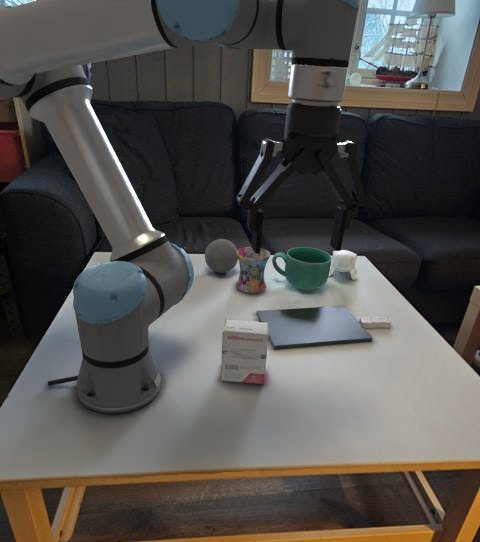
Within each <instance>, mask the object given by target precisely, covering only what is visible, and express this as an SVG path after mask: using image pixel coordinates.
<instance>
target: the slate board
mask: <svg viewBox="0 0 480 542" xmlns="http://www.w3.org/2000/svg"><path fill="white" fill-rule="evenodd" d="M255 312H256V313H255V315H256V318H257V319H258V320H259V321H258V322H264V323H268V325H269V334H268V341H269V342H270V344H271V346H272V349H273V350H283V349H285V350H286V349H295V348H296V349H297V348H306V347H320V346H332V345H344V344H357V343H367V342H368V343H369V342H373V339H374V337H372V335H371V334H370V333H369V332H368V331H367V330H366V328H363V326H362V325H361V324H360V323H359V321H358V320H357V318H356V317H355V316H354V315H353V314H352V313H351V312H350V310H349V309H348V308H347V307H346V306H345V305H329V306H315V307H297V308H282V309H266V310H256V311H255Z"/></svg>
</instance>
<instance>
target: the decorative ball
mask: <svg viewBox="0 0 480 542" xmlns="http://www.w3.org/2000/svg"><path fill="white" fill-rule="evenodd" d="M237 250H238V248H237V247H236V245H235V244H234V243H233V242H231V241H230V240H228V239H224V238H218V239H215V240H213V241H211V242H209V244H208V245H207V246H206V249H205V251H204V260H205V263H206V265H207V267H208V268H209V269H210V270H212V271H213V272H215V273H218V274H225V273H229V272H231V271H232V270H233V269H234V268H235V267H236V265H237V263H238V262H239V259H238V257H237V254H236V252H237Z"/></svg>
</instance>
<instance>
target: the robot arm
mask: <svg viewBox="0 0 480 542" xmlns="http://www.w3.org/2000/svg"><path fill="white" fill-rule="evenodd" d="M359 2H360V0H33V1H30V2H26V3H22V4H18V5H14V6H10V7H7V6H6V5H3V4H1V3H0V98H6V99H7V98H8V99H12V98H14V99H15V98H18V99H19V98H20V100H21V102H22V103H23V105H24V107H25V108H26V111H27V112H28V114H29V116H30V117H31V118H32V119H34V120H37V121H38V122H41V123H43V124H44V125H45V127H46V129H47V131H48V132H49V134H50V135H51V138H52V140H53V142H54V143H55V145H56V147H57V149H58V150H59V152H60V154H61V156H62V158H63V159H64V160H63V161H64V162H65V164H66V166H67V167H68V169H69V171H70V172H71V174H72V176H73V178H74V180H75V182H76V183H77V186H78V187H79V189H80V191H81V192H82V194H83V195H82V196H84V198H85V200H86V202H87V204H88V206H89V207H90V209H91V211H92V214H94V216H95V218H96V220H97V222H98V224H99V226H100V227H101V229H102V231H103V233H104V235H105V237H106V239H107V241H108V242H109V244H110V246H111V249H112V250H111V254H110V257H109V261H106V263H101V262H99V263H96V264H94V265H91V266H89V267H88V268H86V269H84V270H83V271H82V272H81V273H80V274H79V275H78V276H77V277H76V278H75V281H74V283H73V286H72V287H73V288H72V294H73V300H72V307H73V310H74V314H75V320H76V325H77V331H78V336H79V343H80V348H81V355H82V359H81V363H80V366H79V371H78V375H74V376H68V377H62V378H58V379H52V380H49V381H47V386H49V387H51V386H55V385H61V384H65V383H71V382H75V381H76V392H77V396H78V400H79V401H80V403H81V404H82V405H83V406H85V408H87V409H89V410H91V411H93V412H97V413H102V414H111V415H113V414H114V415H115V414H124V413H125V414H126V413H129V412H133V411H136V410H138V409H140V408H142V407H144V406H146V405H148V404H149V403H150V402H152V401H153V400H154V399H155V398H156V397H157V396H158V395H159V392H160V390H161V387H162V378H161V373H160V368H159V367H158V364H157V362H156V361H155V358H154V356H153V354H152V352H151V350H150V343H149V342H150V338H149V327H150V325H152V324H153V323H154V322H155V321H157V320H158V319H160V317H162V316H163V315H164V314H165V313H167V312H168V311H169V310H170V309H172V308H173V307H174V306H176V305H178V304H179V303H181V301H183V299H184V298H185V296H187V295H188V293H189V291H190V290H191V289H192V286H193V284H194V279H195V272H194V271H195V270H194V265H193V262H192V260H191V258H190V257H189V254H188V253H187V251H185V250H184V249H183V248H182V247H179V246H178V244H175V243H172V242H170V240H169V239H168V236H167V235H166V233H165V232H163V231H160V230H158V229H155V227H153V225H152V223H151V221H150V219H149V217H148V215H147V213H146V211H145V209H144V207H143V206H142V203H141V201H140V199H139V198H138V195H137V193H136V192H135V190H134V188H133V185H132V184H131V182H130V179H129V177H128V175H127V174H126V172H125V170H124V168H123V165H122V164H121V162H120V160H119V158H118V156H117V154H116V152H115V150H114V148H113V146H112V144H111V142H110V140H109V138H108V136H107V134H106V132H105V130H104V128H103V126H102V124H101V122H100V120H99V119H98V116H97V115H96V113H95V111H94V109H93V107H92V105H91V100H92V97H93V93H94V90H93V87H92V86H91V84H90V83H91V79H92V72H91V71H90V70H91V68H92V64H94V63H100V62H105V61H111V60H117V59H121V58H122V59H123V58H127V57H132V56H133V57H134V56H138V55H144V54H150V53H155V52H160V51H166V50H171V49H181V48H188V47H192V46H193V47H194V46H198V45H205V44H213V45H215V46H216V47H220V48H227V49H229V50H230V49H231V50H232V49H233V50H236V51H237V50H241V49H242V50H243V49H246V50H247V49H248V50H280V51H292V53H291V55H292V57H291V63H290V64H291V67H290V75H289V84H288V92H287V97H288V98H289V99H291V102H290V103H288V105H287V106H286V116H285V122H284V123H285V125H284V136H283V139H282V141H275V140H272V139H269V138H268V137H264V138H263V139H262V140H261V145H260V149H259V155H258V156H257V159H256V160H255V162H254V164H253V166H252V168H251V169H250V172H249V173H248V175H247V176H246V178H245V181H244V183H243V184H242V187H241V188H240V190H239V192H238V194H237V195H236V199H235V200H236V203H238V205H239V206H240V207H241V208H245V209H247V217H246V218H247V219H246V227H247V229H248V231H249V232H252V234H251V235H252V236H251V246H250V247H252V249H253V250H254V252H255V253H256V254H259V253H260V250H261V248H262V237H263V226H264V213H265V212H264V211H263V209H261V208H262V207H263V205H265V203H266V202H267V201H268V200H269V199H270V198H271V196H272V195H273V194H274V193H275V192H276V191H277V190H278V189H279V188H280V187H281V186H282V184H283V183H284V182H285V181H286V180H287V179H288V178H290V177H291V176H292V175H293V174H294V173H296V174H297V175H306V174H309V175H319V174H320V173H321V174H322V175H323V178H325V180H326V182H327V183H328V185H329V187H330V188H331V190H332V192H333V193H334V195H335V196H336V198H337V200H338V201H339V204H341V206H335V212H334V218H333V224H332V229H331V236H330V240H329V241H330V242H329V246H330V247H331V248H332V249H333V250H334V251H341V250H342V245H343V241H344V235H345V231H346V230H349V228H350V227H351V221H352V216H353V213H356V212H357V209H358V208H359V207H364V206H366V204H367V198H366V195H365V190H364V187H363V181H362V178H361V175H360V171H359V166H358V163H357V148H358V146H357V143H355V142H352V141H349V140H343V142H339V143H338V140H337V139H338V134H339V131H340V125H341V117H342V112H343V111H342V108H341V106H339V103H342V102H343V101H344V98H345V92H346V86H347V80H348V72H349V65H350V60H351V59H350V58H351V54H352V53H351V52H352V47H353V41H354V34H355V31H356V30H355V29H356V23H357V18H358V13H359V9H360V6H359ZM279 152H281V154H282V156H283V159H282V160H281V161H280V162H279V164H278V165H277V166H276V169H275V170H274V171H273V172H272V173H271V174H270V175H269V177H268V178H267V179H266V180H265V181H264V183H263V184H262V185H261V186H260V187H259V188H258V186H259V184H260V183H261V181H262V180H263V177H264V175H265V174H266V172H267V170H268V169H269V166H270V164H271V162H272V160H273V158H275V157H276V156H277V155H278V153H279ZM337 153H338V156H339V158H341V163H342V167H343V170H344V174H345V177H346V182H347V185H348V188H349V192H348V191H347V189H346V187H345V186H344V184H343V182H342V181H341V179H340V177H339V174H337V170H336V169H335V167H334V165H333V164H332V162H331V161H332V160H333V159H334V158H335V156H336V155H337ZM257 188H258V189H257Z"/></svg>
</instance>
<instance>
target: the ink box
mask: <svg viewBox="0 0 480 542" xmlns="http://www.w3.org/2000/svg"><path fill="white" fill-rule="evenodd" d="M268 334H269V325H268V323H264V322H260V321H250V320H239V319H231V318H230V319H228V318H226V319H225V320H224V324H223V329H222V338H221V339H222V341H221V362H220V363H221V364H220V365H221V368H220V380H221V381H223V382H235V383H246V384H257V385H264V384H265V380H266V379H265V378H266V368H267V358H268V357H267V356H268V346H269V345H268V344H269V338H268Z"/></svg>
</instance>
